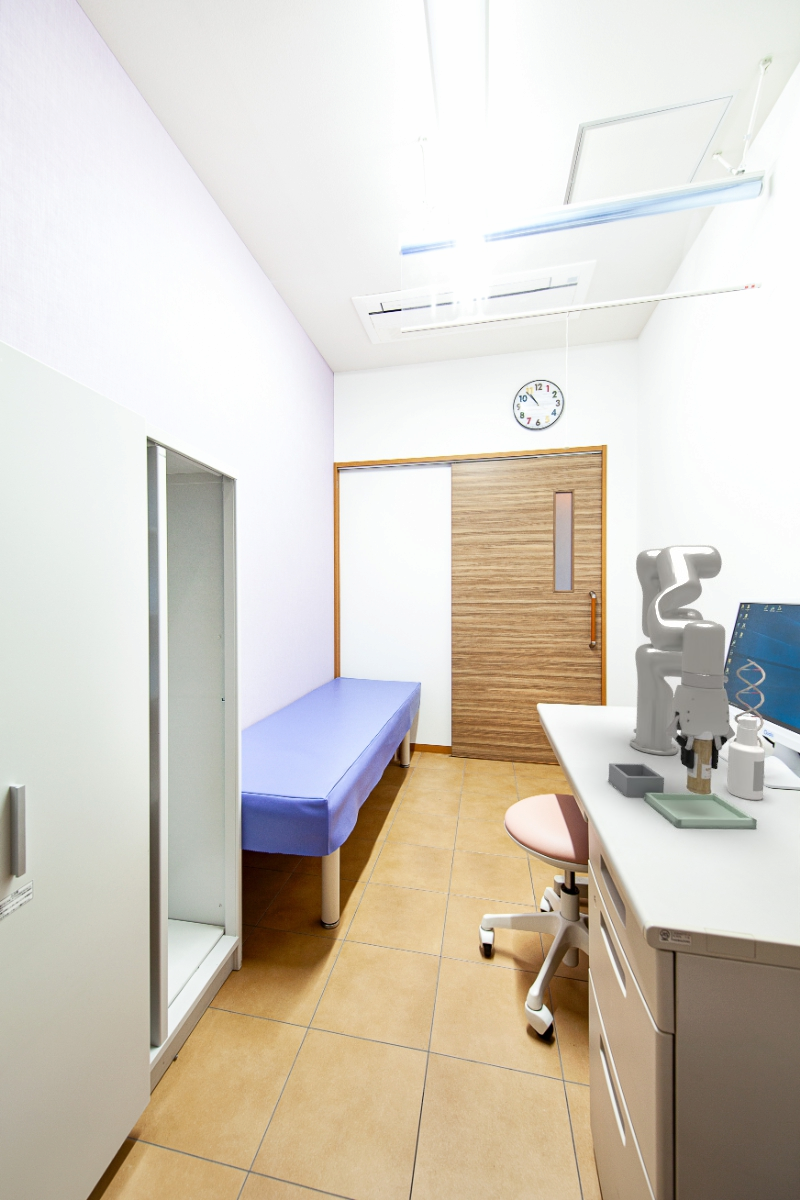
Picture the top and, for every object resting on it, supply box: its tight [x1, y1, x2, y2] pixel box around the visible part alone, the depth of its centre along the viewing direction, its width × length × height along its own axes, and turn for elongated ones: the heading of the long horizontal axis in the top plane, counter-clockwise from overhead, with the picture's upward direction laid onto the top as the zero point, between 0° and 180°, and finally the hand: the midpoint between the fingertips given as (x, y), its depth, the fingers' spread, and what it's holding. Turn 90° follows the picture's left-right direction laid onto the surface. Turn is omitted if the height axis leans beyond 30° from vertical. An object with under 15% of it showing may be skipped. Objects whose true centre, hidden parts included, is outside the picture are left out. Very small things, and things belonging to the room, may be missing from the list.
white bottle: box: [726, 715, 766, 801], centre depth 109 cm, size 7×7×18 cm
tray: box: [644, 792, 758, 830], centre depth 99 cm, size 12×16×2 cm
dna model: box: [733, 658, 766, 748], centre depth 120 cm, size 7×6×30 cm
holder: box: [608, 762, 665, 798], centre depth 111 cm, size 9×9×4 cm
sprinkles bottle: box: [685, 732, 713, 795], centre depth 98 cm, size 5×5×13 cm
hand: (699, 765), depth 98 cm, fingers closed on sprinkles bottle, 4 cm apart
